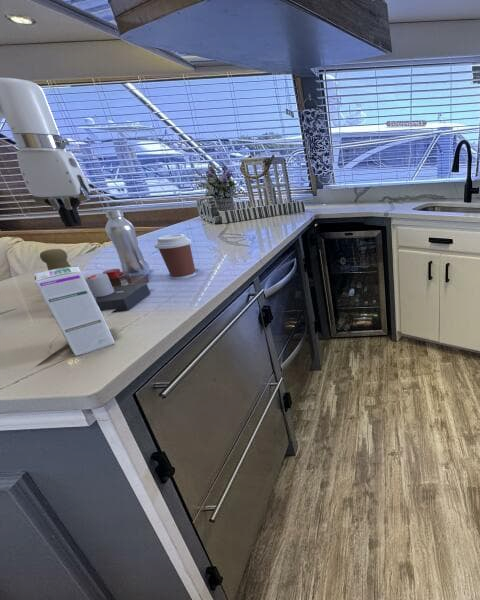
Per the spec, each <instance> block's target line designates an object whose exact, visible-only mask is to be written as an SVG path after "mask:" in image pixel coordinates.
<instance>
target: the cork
mask: <svg viewBox="0 0 480 600" xmlns="http://www.w3.org/2000/svg"><path fill="white" fill-rule="evenodd" d="M39 258H40V260H41V261H42V262H43V263H45V264H46V267H47V271H49V270H53V269H58V268H64V267H72V266H71V264H70V263H69V262H68V254H67V252H66V250H64V249H61V248H52V249H51V248H50V249H46V250H43V251H41V252H40V253H39Z"/></svg>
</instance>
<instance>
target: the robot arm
mask: <svg viewBox="0 0 480 600" xmlns="http://www.w3.org/2000/svg"><path fill="white" fill-rule="evenodd" d="M51 110H52V109H51V108H50V105H49V102H48V100H47V96H46V94H45V92H44V90H43V88H42V87H41V86H40V85H39V84H37V83H36V82H34V81H31V80H26V79H21V78H13V77H0V120H1V119H2V120H3V119H5V121H6V124H7V125H8V128H9V130H10V132H11V135H12V137H13V139H14V142H15V144H16V147H17V149H18V150H16V158H17V163H18V167H19V170H20V174H21V176H22V179H23V182H24V184H25V186H26V189H27V190H28V192H29V194H30V195H32V196H33V200H34V202H36V203H40V204H47V205H48V206H50V207H52V208H53V210H54V211H57V212H58V215H59V217H60V219H61V222H62V223H63V225H64V227H65V228H76V227H81V226H82V219H81V216H80V214H79V210H78V209H79V208H80V207H79V206H80V205H81V204H82V203H83V202H87V201H90V200H91V198H92V197H91V196H90V195H89V194H90V193H91V188H90V186H89V185H90V184H89V183H88V180H87V178H86V176H85V174H84V172H83V170H82V168H81V166H80V164H79V162H78V161H77V159H76V157H75V156H74V154H73V152H72V151H69V150H67V148H66V146H70V141H69V140H68V139H67V138H62V136H61V134H60V131H59V129H58V126H57V124H56V122H55V121H56V120H55V119H54V116H53V113H52V111H51Z"/></svg>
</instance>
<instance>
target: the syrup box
mask: <svg viewBox="0 0 480 600" xmlns="http://www.w3.org/2000/svg"><path fill="white" fill-rule="evenodd" d="M84 277H85V276H84V275H83V272H82V271H81V269H80V267H79V266H77V265H75V266H74V265H73V266H71V267H64V268H58V269H53V270H49V271H48V270H46V271H41V272H37V273H34V278H33V280H34V284H35V285H36V287H37V289H38V291H39V292H40V294H41V296H42V298H43V301H44V302H45V304H46V306H47V308H48V310H49V311H50V313H51V315H52V317H53V318H54V321H55V322H56V324H57V326H58V328H59V329H60V331H61V333H62V335H63V337H64V339H65V340H66V342H67V344H68V346H69V348H70V350H71V351H72V353H73V355H74V356H76V357H77V356H81V355H85V354H88V353H92V352H94V351H97V350H100V349H101V350H102V349H103V348H107V347H109V346H112V345H115V340H114V337H113V334H112V333H111V330H110V328H109V326H108V324H107V322H106V320H105V317H104V315H103V313H102V310H101V311H100V308H99V306H98V304H97V302H96V300H95V298H94V296H93V294H92V292H91V290H90V288H89V286H88V284H87V283H86V281H85V279H84Z"/></svg>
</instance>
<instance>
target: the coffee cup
mask: <svg viewBox="0 0 480 600" xmlns="http://www.w3.org/2000/svg"><path fill="white" fill-rule="evenodd" d="M156 240H157V241H156V243H155V244H154V248H155V249H157V250H158V251H159V253H160V255H161V257H162V259H163V262H164V264H165V266H166V268H167V271H168V273H169V275H170V278H171V279H173V280H183V279H187V278H191V277H194V276H195V275H197V271H196V267H195V266H196V265H195V262H194V257H193V253H192V248H191V244H193V242H192V239H189V238H188V237H187V235H186V234H183V233H177V234H176V233H175V234H168V235H162V236H159V237H157V239H156Z"/></svg>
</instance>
